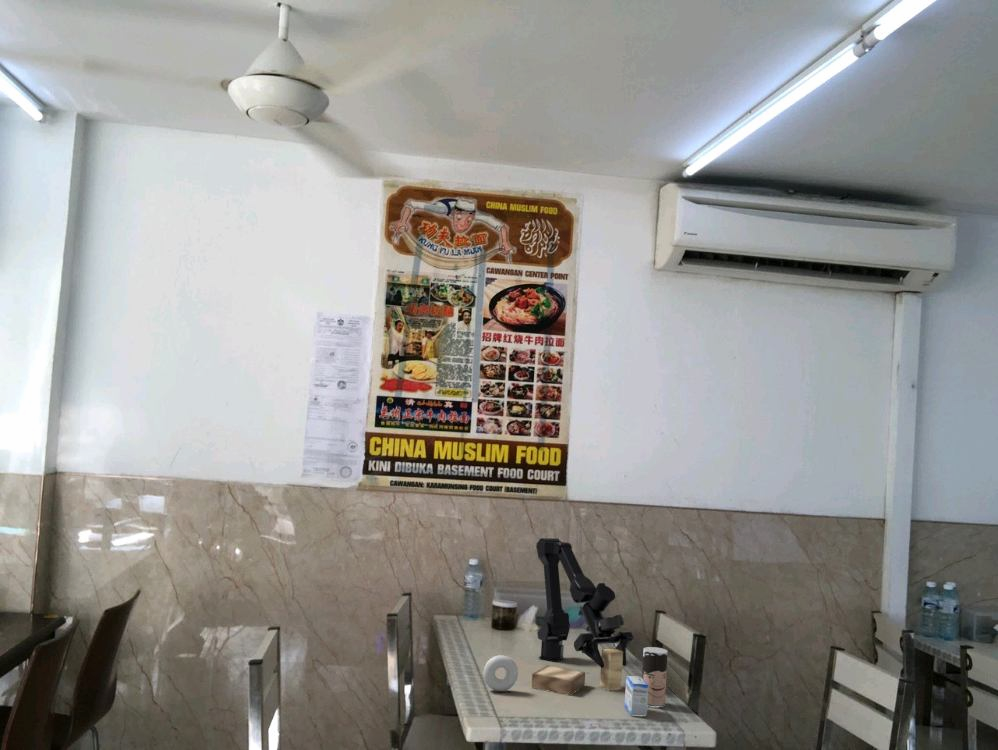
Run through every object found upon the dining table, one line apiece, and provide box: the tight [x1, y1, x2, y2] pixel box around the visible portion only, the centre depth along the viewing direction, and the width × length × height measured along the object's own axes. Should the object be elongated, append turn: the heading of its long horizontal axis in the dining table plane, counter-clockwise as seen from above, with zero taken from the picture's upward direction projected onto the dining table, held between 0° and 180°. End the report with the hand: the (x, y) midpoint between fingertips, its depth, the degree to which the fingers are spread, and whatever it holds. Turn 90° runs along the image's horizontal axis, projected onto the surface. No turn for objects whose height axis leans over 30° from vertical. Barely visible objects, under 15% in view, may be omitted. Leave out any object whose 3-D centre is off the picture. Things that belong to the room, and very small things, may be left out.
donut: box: [482, 654, 519, 692], centre depth 246 cm, size 10×4×10 cm, turn 96°
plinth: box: [531, 664, 586, 696], centre depth 254 cm, size 12×12×4 cm
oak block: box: [599, 647, 623, 691], centre depth 256 cm, size 4×4×11 cm
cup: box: [641, 646, 669, 706], centre depth 243 cm, size 7×7×15 cm
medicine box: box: [623, 675, 648, 716], centre depth 234 cm, size 8×4×9 cm, turn 5°
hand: (614, 666), depth 255 cm, fingers open, 8 cm apart
